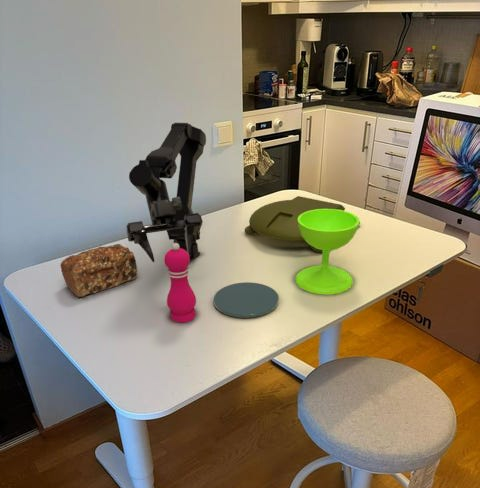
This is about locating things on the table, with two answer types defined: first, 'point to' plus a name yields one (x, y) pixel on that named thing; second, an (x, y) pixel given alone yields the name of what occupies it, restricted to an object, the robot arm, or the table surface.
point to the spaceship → (285, 218)
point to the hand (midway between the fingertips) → (171, 258)
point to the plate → (246, 300)
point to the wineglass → (326, 248)
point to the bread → (98, 269)
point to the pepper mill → (179, 285)
